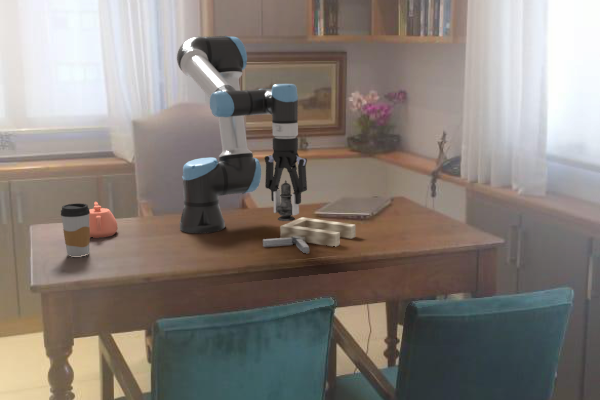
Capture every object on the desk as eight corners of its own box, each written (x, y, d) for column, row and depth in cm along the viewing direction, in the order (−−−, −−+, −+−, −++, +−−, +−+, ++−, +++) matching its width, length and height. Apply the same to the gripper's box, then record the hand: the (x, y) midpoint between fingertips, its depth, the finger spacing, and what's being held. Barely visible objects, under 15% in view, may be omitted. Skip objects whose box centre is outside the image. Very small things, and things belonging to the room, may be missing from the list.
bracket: (280, 238, 239) (280, 226, 238) (302, 228, 250) (302, 217, 249) (335, 246, 229) (335, 234, 228) (355, 236, 240) (355, 224, 239)
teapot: (80, 242, 237) (78, 213, 235) (79, 228, 253) (77, 201, 251) (119, 238, 240) (117, 210, 238) (116, 225, 257) (114, 198, 255)
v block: (277, 239, 238) (277, 233, 238) (323, 246, 230) (323, 240, 229) (260, 246, 230) (260, 240, 229) (307, 254, 221) (307, 247, 221)
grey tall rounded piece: (293, 221, 221) (293, 182, 219) (274, 221, 223) (273, 181, 220) (297, 217, 227) (297, 178, 224) (279, 216, 228) (278, 178, 226)
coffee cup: (82, 249, 228) (78, 201, 225) (98, 254, 223) (95, 205, 220) (58, 255, 222) (54, 206, 219) (74, 260, 217) (70, 210, 214)
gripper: (251, 136, 221) (253, 212, 226) (306, 140, 212) (306, 219, 217) (265, 133, 227) (267, 207, 232) (319, 137, 218) (319, 214, 223)
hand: (286, 213), depth 224 cm, fingers closed on grey tall rounded piece, 6 cm apart
